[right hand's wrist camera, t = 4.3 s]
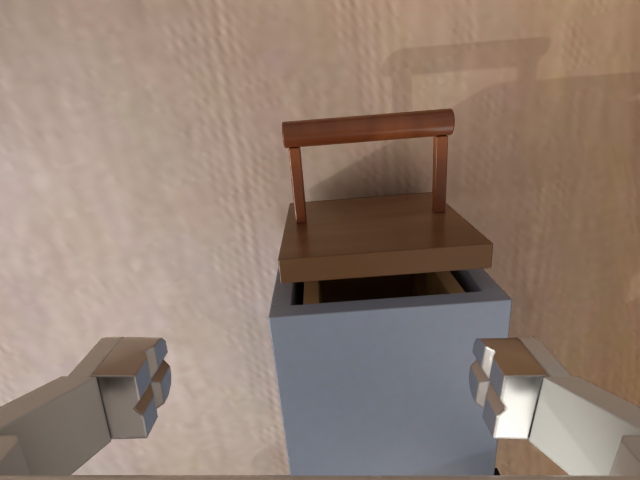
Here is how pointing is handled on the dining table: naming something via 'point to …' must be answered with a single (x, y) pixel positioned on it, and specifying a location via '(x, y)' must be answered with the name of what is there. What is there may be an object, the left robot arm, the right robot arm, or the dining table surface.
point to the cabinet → (385, 380)
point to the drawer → (376, 221)
